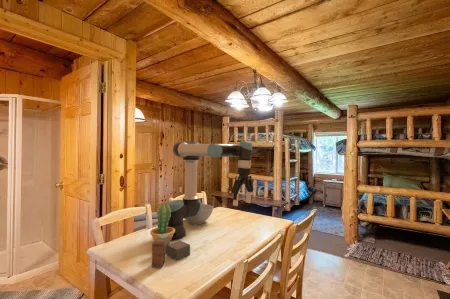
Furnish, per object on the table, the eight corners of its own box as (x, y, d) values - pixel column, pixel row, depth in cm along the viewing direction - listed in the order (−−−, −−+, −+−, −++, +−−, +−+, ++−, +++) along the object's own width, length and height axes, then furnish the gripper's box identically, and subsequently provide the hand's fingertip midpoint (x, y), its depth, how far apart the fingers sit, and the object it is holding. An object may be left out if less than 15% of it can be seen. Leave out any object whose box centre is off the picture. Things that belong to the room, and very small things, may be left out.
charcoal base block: (166, 255, 130) (167, 245, 130) (179, 250, 136) (179, 240, 136) (177, 261, 124) (177, 249, 124) (189, 255, 131) (190, 244, 131)
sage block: (156, 253, 132) (157, 235, 132) (164, 250, 136) (164, 233, 136) (162, 256, 129) (162, 237, 129) (169, 253, 133) (169, 235, 133)
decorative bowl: (176, 219, 196) (176, 205, 196) (206, 216, 207) (206, 202, 207) (184, 229, 172) (184, 213, 172) (218, 225, 183) (218, 209, 183)
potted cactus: (179, 240, 152) (180, 201, 152) (167, 249, 137) (168, 207, 137) (158, 237, 156) (158, 200, 156) (144, 246, 141) (145, 205, 141)
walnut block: (155, 263, 121) (155, 239, 121) (164, 263, 121) (164, 240, 121) (151, 267, 116) (152, 243, 116) (161, 268, 116) (162, 243, 116)
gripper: (237, 168, 124) (235, 208, 124) (260, 168, 144) (258, 202, 144) (226, 167, 129) (223, 205, 129) (249, 167, 149) (247, 200, 148)
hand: (241, 204), depth 136 cm, fingers open, 13 cm apart
